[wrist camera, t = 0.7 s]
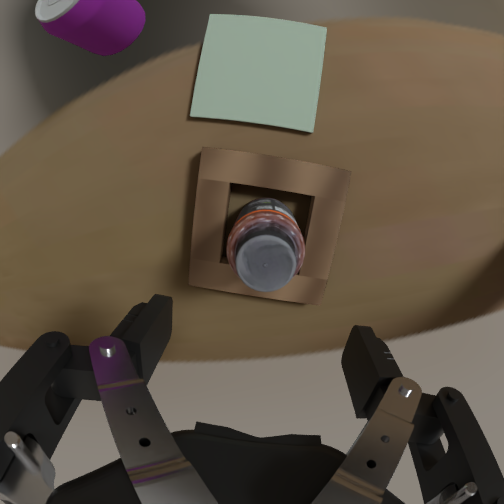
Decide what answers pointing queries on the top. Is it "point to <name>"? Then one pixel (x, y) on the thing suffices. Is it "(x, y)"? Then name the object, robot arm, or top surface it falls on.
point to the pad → (260, 71)
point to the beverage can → (93, 23)
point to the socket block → (275, 177)
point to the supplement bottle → (265, 245)
